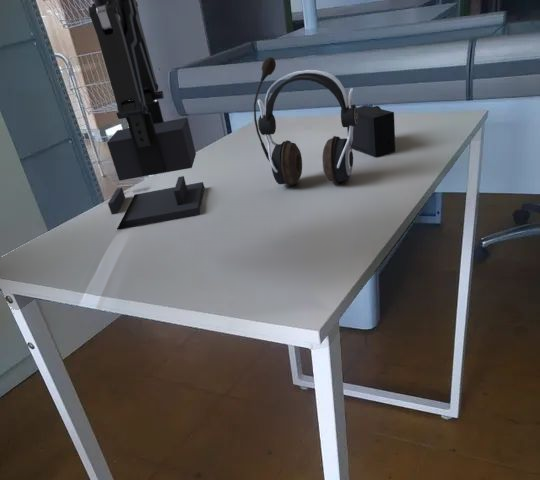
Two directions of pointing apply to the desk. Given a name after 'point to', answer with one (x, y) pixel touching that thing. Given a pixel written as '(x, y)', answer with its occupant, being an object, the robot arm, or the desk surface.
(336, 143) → the headset
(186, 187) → the base pad
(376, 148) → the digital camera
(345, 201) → the desk surface
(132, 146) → the foam pad
